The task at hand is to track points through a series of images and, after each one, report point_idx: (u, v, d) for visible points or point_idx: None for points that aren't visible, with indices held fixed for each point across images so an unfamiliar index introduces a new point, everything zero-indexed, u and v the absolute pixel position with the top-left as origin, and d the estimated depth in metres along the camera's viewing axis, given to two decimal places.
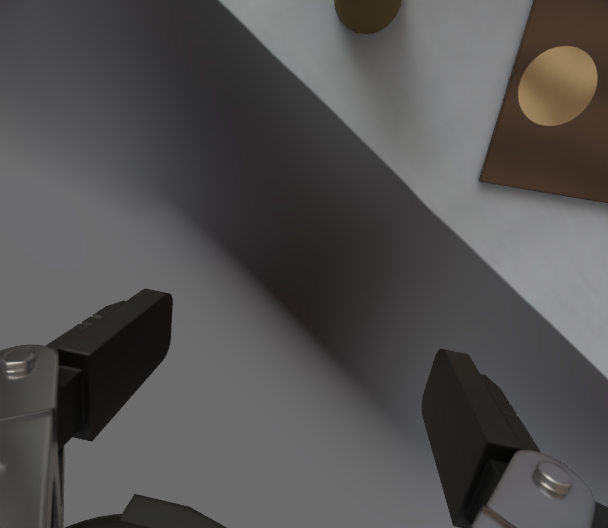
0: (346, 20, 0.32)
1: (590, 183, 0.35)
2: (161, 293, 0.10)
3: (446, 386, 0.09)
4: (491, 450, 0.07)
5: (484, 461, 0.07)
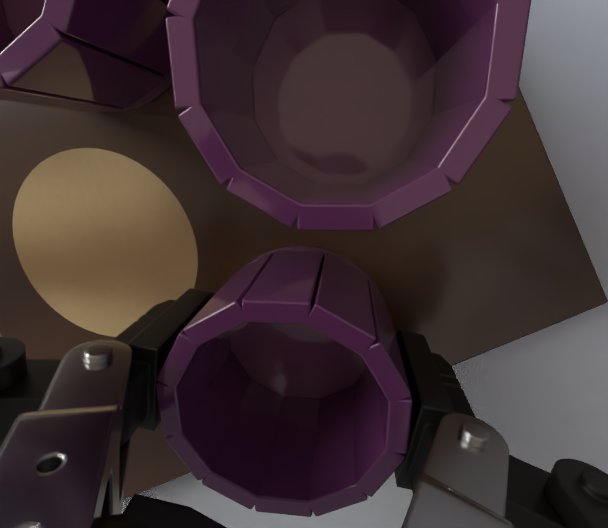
0: None
1: (162, 448, 0.14)
2: (206, 292, 0.11)
3: None
4: (427, 414, 0.08)
5: (421, 424, 0.08)
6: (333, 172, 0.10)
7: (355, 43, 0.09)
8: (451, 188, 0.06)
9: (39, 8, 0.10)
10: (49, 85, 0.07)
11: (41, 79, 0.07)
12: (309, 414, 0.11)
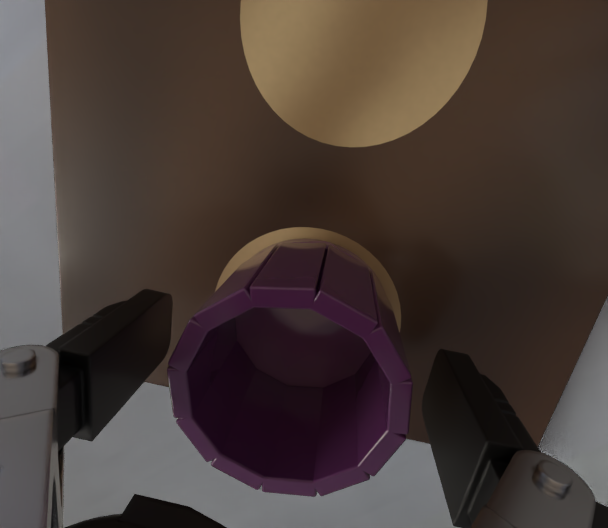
0: None
1: (600, 189, 0.10)
2: (161, 293, 0.10)
3: (446, 386, 0.09)
4: (491, 450, 0.07)
5: (484, 461, 0.07)
6: None
7: None
8: None
9: None
10: None
11: None
12: (313, 402, 0.12)
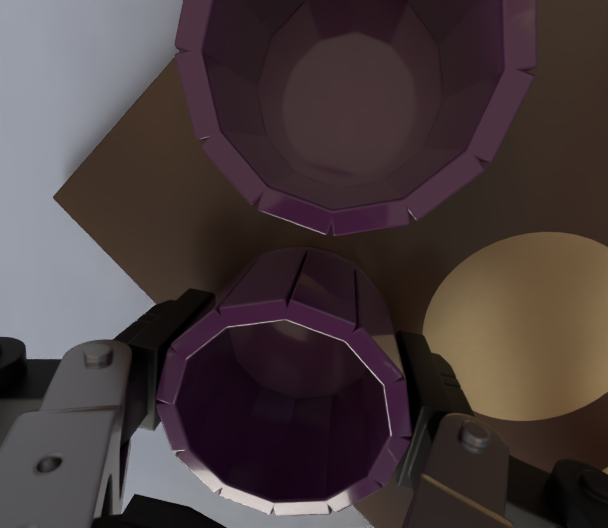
0: None
1: None
2: (206, 292, 0.11)
3: None
4: (427, 414, 0.08)
5: (421, 424, 0.08)
6: (428, 84, 0.09)
7: (303, 90, 0.09)
8: None
9: (316, 370, 0.12)
10: (392, 348, 0.08)
11: (391, 351, 0.08)
12: None
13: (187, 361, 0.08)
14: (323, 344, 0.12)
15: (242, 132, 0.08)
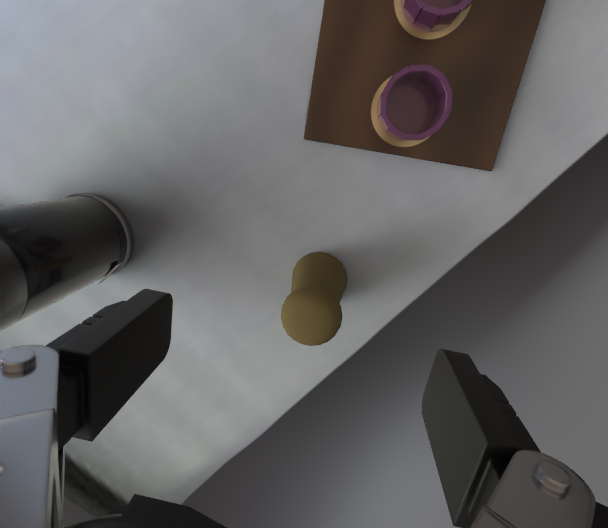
0: None
1: (511, 51, 0.31)
2: (161, 293, 0.10)
3: (446, 386, 0.09)
4: (491, 450, 0.07)
5: (484, 461, 0.07)
6: None
7: None
8: None
9: (440, 8, 0.30)
10: None
11: None
12: None
13: None
14: None
15: None
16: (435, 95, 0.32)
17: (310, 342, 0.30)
